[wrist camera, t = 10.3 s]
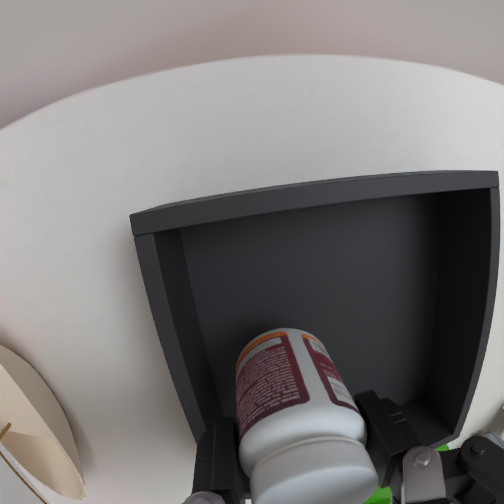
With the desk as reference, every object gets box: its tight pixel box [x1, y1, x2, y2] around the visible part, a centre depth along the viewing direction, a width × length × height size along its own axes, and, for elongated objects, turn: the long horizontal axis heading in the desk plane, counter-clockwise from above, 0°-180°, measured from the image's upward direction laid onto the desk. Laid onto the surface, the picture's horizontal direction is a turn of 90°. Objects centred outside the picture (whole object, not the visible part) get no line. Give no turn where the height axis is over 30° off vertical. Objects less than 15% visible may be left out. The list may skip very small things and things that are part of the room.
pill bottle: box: [236, 328, 378, 504], centre depth 11 cm, size 5×5×8 cm
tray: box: [129, 170, 500, 499], centre depth 15 cm, size 18×17×6 cm
